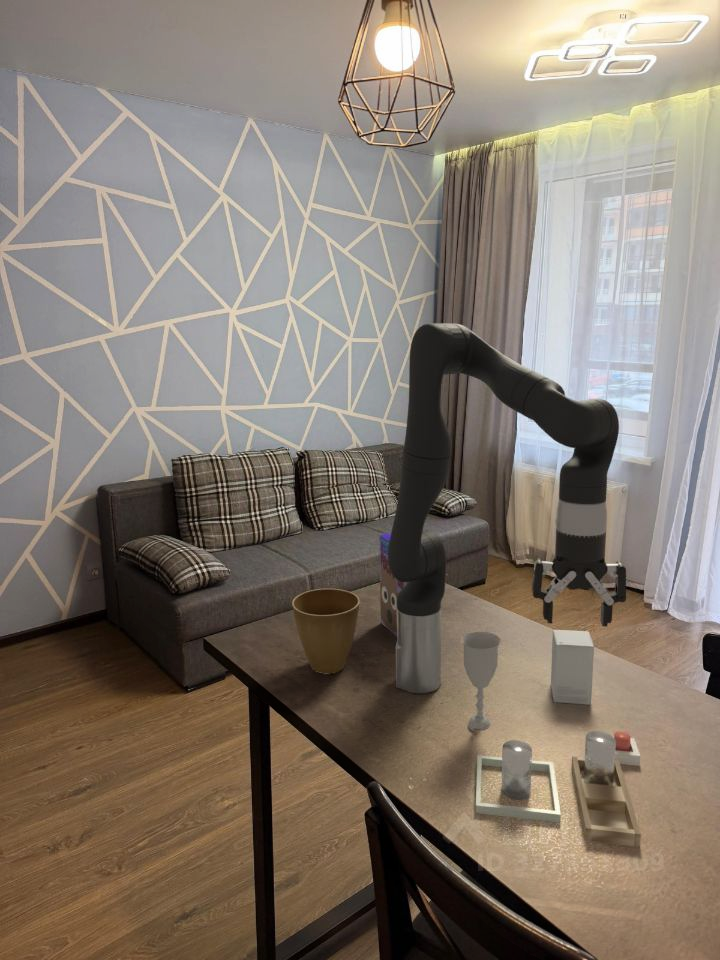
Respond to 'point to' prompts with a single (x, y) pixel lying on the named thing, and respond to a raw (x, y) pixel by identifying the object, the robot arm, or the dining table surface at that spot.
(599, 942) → the dining table surface
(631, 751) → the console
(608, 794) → the pocket board
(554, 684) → the supplement box
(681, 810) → the dining table surface
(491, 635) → the chalice
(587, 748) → the cylinder
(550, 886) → the dining table surface
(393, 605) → the cereal box
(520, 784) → the cylinder
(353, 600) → the plant pot
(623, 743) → the button
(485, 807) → the square tray frame
